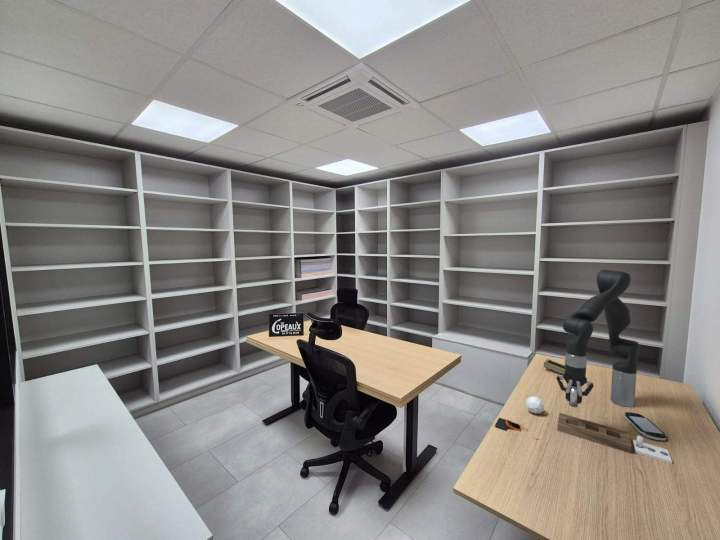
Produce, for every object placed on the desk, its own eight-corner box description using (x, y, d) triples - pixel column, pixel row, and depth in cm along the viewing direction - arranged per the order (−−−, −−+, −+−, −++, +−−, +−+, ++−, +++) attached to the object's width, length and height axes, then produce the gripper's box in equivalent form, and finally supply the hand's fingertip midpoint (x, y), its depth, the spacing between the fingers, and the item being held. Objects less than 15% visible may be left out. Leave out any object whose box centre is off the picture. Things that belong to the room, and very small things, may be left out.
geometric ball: (532, 419, 144) (524, 408, 142) (529, 405, 151) (521, 394, 149) (549, 415, 140) (541, 404, 139) (544, 401, 147) (537, 390, 145)
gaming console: (620, 415, 143) (620, 410, 143) (643, 418, 140) (643, 412, 140) (644, 440, 124) (645, 434, 124) (671, 444, 122) (672, 438, 122)
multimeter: (545, 431, 131) (545, 424, 130) (539, 445, 122) (539, 437, 122) (501, 416, 143) (501, 409, 142) (493, 427, 134) (493, 420, 134)
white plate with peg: (632, 441, 123) (633, 430, 122) (667, 451, 117) (668, 439, 116) (635, 452, 116) (636, 440, 116) (671, 463, 110) (672, 451, 110)
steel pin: (568, 402, 133) (569, 385, 132) (577, 405, 131) (578, 387, 131) (568, 405, 131) (569, 388, 130) (577, 408, 129) (578, 390, 128)
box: (545, 365, 198) (546, 358, 197) (586, 380, 183) (588, 373, 182) (541, 369, 192) (543, 362, 191) (584, 385, 177) (586, 378, 176)
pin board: (559, 418, 139) (559, 412, 139) (627, 438, 125) (628, 431, 125) (557, 430, 131) (557, 424, 130) (630, 453, 116) (631, 446, 116)
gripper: (595, 364, 128) (593, 403, 130) (556, 357, 137) (555, 393, 138) (596, 370, 122) (593, 410, 124) (555, 362, 131) (553, 400, 132)
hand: (573, 401), depth 131 cm, fingers closed on steel pin, 3 cm apart
